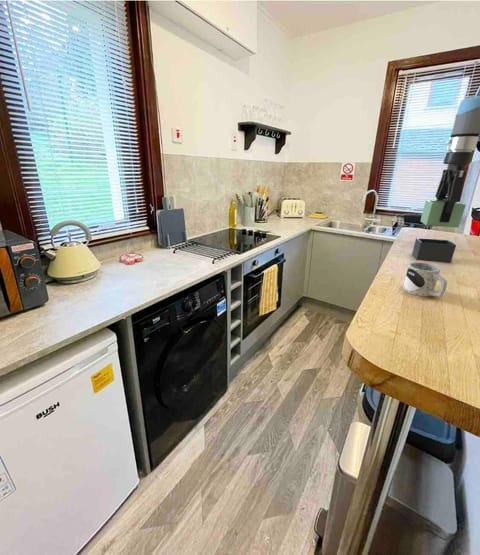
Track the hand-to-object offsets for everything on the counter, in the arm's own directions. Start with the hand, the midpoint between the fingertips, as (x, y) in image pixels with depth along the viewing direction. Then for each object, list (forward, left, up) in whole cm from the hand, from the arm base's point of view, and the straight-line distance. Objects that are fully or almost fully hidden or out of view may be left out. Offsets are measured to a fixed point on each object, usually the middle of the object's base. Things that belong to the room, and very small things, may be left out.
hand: (439, 219), depth 100 cm
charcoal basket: (+4, +13, -11) cm, 18 cm away
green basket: (0, 0, -2) cm, 2 cm away
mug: (+14, +45, -11) cm, 48 cm away
